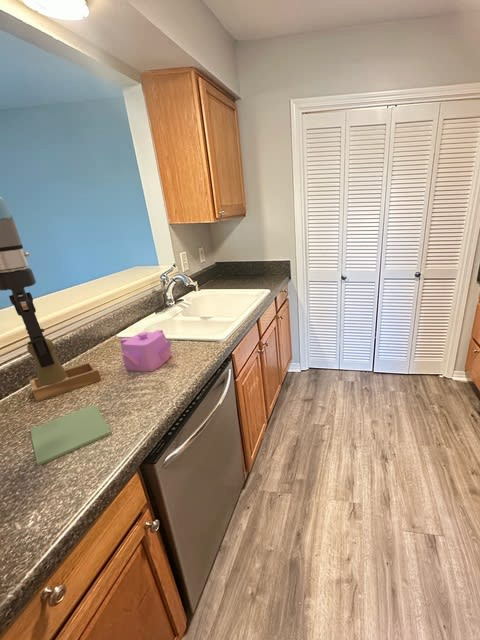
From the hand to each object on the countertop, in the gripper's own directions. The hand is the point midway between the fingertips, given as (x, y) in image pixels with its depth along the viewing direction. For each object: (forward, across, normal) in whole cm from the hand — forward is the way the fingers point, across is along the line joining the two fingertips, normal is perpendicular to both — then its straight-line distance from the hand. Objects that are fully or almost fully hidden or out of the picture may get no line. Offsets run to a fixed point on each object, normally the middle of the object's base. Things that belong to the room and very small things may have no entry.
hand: (46, 361), depth 82 cm
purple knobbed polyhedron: (+21, +23, -29) cm, 43 cm away
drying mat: (+20, -3, +1) cm, 21 cm away
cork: (+5, 0, 0) cm, 5 cm away
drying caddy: (+20, +28, -3) cm, 35 cm away
